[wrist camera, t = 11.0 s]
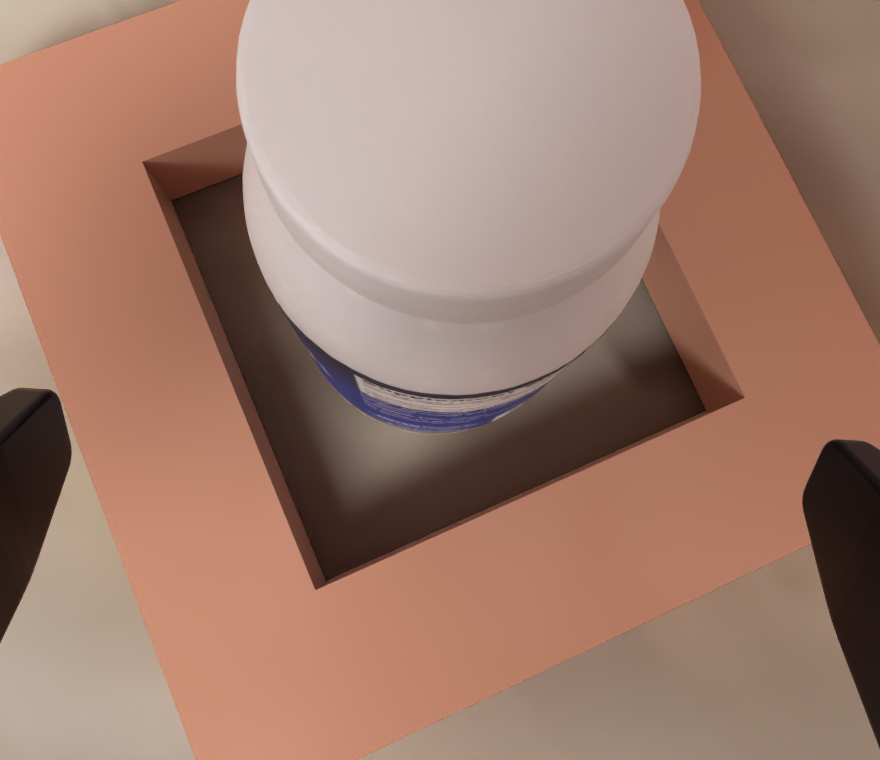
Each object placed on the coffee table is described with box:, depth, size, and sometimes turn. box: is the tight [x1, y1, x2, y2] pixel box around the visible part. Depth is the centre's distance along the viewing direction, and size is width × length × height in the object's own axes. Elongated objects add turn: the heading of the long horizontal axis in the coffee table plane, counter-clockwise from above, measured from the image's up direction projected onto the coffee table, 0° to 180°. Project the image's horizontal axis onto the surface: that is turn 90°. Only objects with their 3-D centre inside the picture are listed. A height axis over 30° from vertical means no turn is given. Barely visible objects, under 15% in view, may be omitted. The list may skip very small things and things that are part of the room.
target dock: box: [0, 0, 880, 760], centre depth 17 cm, size 15×15×2 cm
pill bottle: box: [236, 0, 701, 435], centre depth 13 cm, size 6×6×10 cm
